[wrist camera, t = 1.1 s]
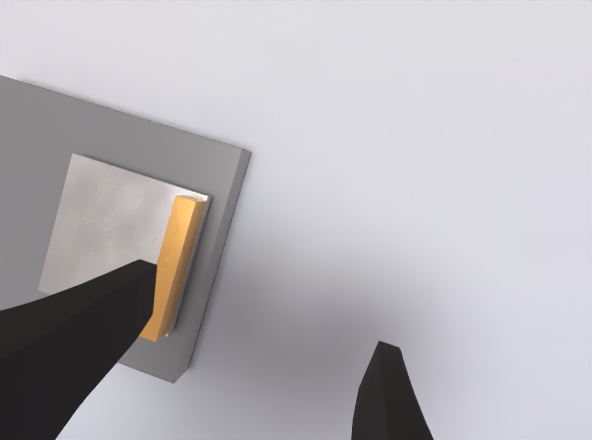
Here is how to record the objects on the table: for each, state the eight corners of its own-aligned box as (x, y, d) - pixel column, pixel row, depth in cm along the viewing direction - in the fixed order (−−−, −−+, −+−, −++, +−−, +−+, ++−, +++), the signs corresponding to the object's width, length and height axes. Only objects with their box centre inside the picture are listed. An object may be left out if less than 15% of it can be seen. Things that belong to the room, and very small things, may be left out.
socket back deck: (72, 326, 26) (49, 337, 24) (-29, 289, 27) (-60, 296, 25) (128, 115, 25) (108, 108, 23) (20, 82, 26) (-8, 72, 24)
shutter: (172, 332, 23) (154, 347, 21) (45, 287, 24) (15, 296, 21) (211, 196, 22) (196, 196, 20) (79, 154, 23) (52, 150, 21)
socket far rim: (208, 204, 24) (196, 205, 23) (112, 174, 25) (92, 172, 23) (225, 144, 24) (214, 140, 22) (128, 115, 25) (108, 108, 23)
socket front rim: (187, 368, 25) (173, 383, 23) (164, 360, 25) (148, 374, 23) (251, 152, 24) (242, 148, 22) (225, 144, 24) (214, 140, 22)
